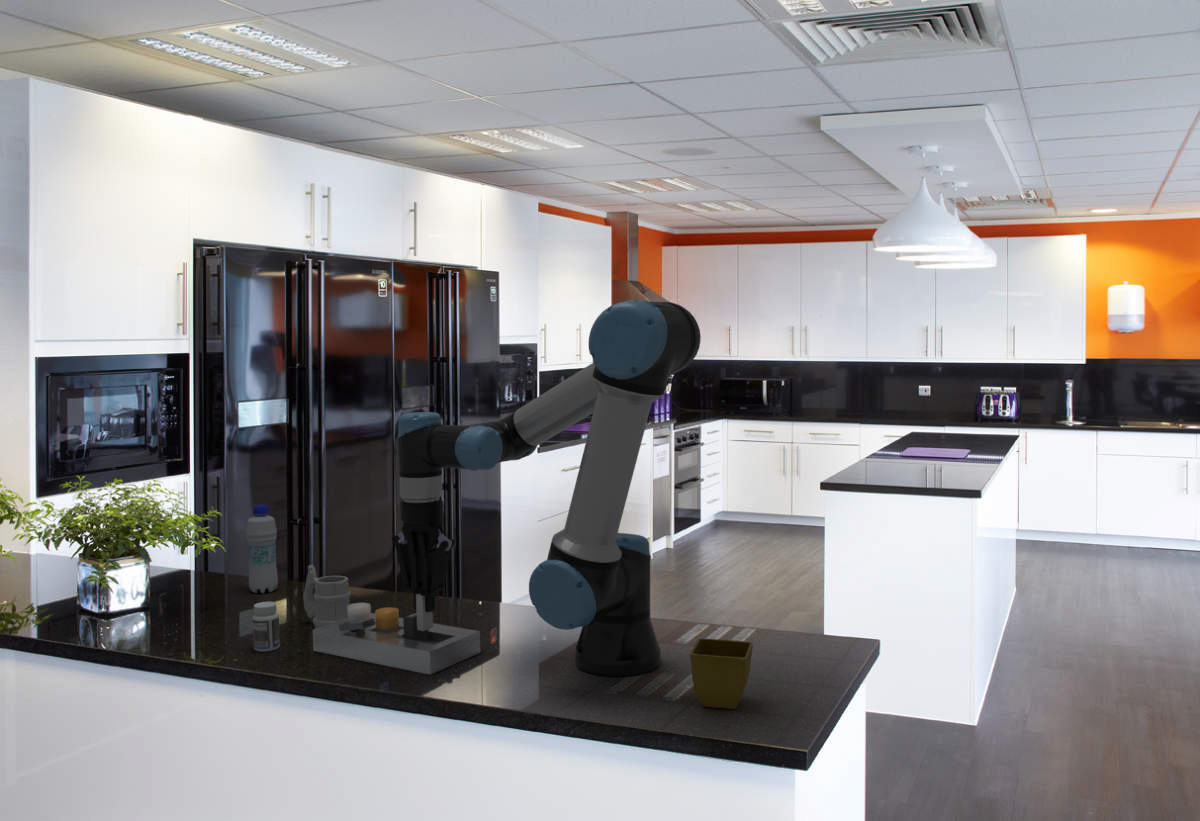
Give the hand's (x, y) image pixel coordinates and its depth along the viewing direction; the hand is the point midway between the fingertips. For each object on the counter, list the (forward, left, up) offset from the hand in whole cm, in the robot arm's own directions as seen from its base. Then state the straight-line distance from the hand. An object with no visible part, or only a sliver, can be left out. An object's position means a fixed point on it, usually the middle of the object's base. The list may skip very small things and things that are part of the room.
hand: (425, 628), depth 188 cm
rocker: (+12, +5, 0) cm, 13 cm away
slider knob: (+2, 0, -3) cm, 4 cm away
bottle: (+65, -20, -6) cm, 68 cm away
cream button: (+16, 0, -1) cm, 16 cm away
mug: (+31, -6, -6) cm, 32 cm away
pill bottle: (+30, +10, -6) cm, 32 cm away
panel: (+7, 0, -5) cm, 9 cm away
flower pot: (-56, -4, -6) cm, 57 cm away
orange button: (+9, 0, -1) cm, 9 cm away
